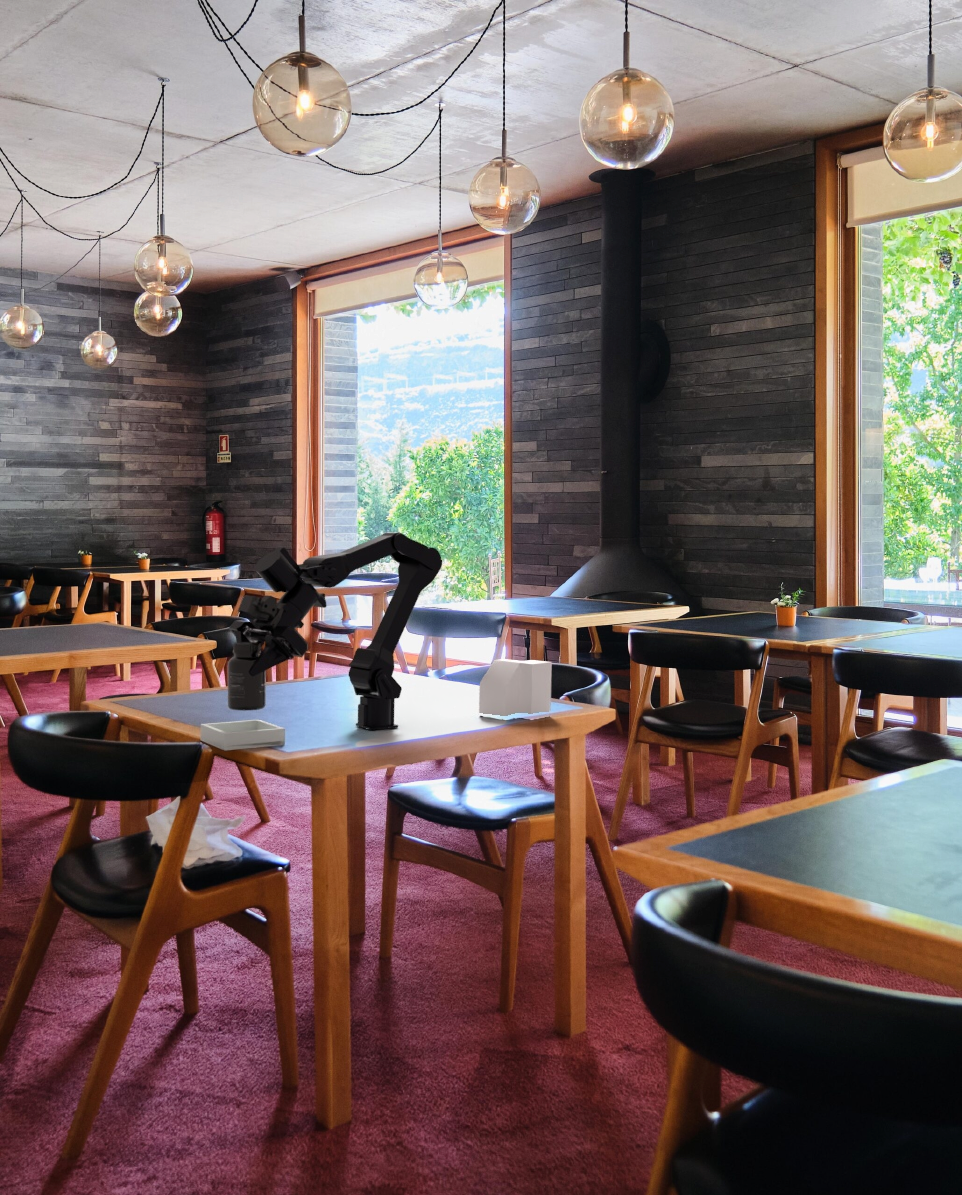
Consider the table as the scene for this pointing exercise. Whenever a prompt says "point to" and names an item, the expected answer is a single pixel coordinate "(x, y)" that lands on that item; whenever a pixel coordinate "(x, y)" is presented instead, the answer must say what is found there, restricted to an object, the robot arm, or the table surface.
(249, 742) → the tray
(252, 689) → the supplement bottle
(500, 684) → the white chamfered block
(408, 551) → the robot arm
